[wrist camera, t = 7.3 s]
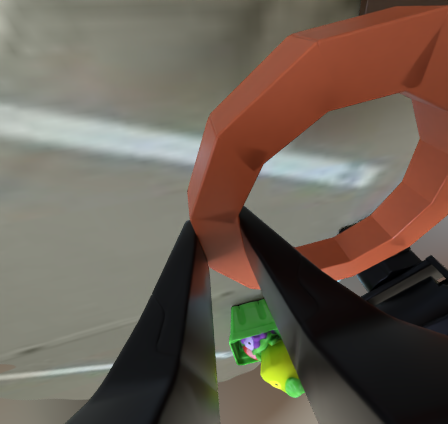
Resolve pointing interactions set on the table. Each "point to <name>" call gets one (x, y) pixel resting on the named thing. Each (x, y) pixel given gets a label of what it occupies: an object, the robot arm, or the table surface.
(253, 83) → the ring
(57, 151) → the table surface
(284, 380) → the fruit basket
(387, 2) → the peg stand
